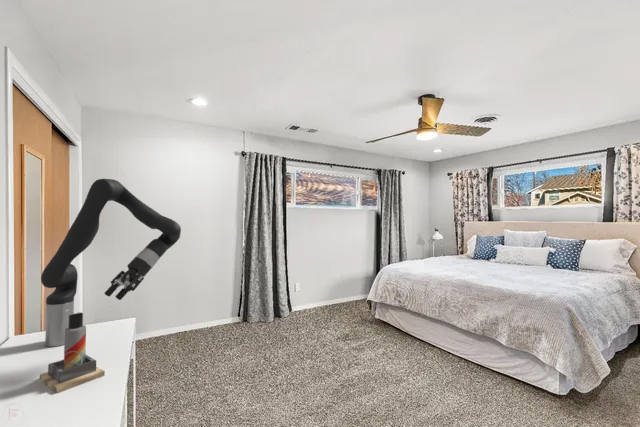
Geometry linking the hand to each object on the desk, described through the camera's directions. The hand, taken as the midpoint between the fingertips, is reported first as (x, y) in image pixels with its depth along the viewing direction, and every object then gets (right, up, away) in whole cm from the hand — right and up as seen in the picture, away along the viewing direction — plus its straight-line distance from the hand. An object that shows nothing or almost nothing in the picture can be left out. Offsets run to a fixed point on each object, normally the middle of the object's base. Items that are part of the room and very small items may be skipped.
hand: (111, 296), depth 117 cm
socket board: (-6, -24, -10) cm, 27 cm away
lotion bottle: (-6, -23, -11) cm, 26 cm away
